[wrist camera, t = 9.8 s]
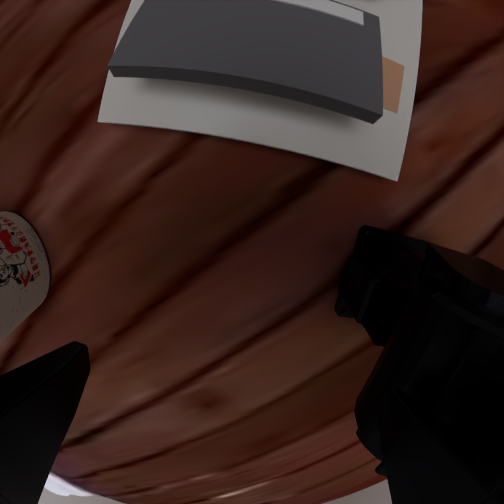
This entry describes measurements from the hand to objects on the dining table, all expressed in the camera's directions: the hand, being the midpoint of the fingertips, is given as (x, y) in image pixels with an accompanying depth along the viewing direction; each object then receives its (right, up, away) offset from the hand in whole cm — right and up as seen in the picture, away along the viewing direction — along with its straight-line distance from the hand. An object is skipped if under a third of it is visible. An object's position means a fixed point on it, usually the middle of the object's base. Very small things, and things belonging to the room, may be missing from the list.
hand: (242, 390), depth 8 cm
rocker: (0, +14, +4) cm, 15 cm away
